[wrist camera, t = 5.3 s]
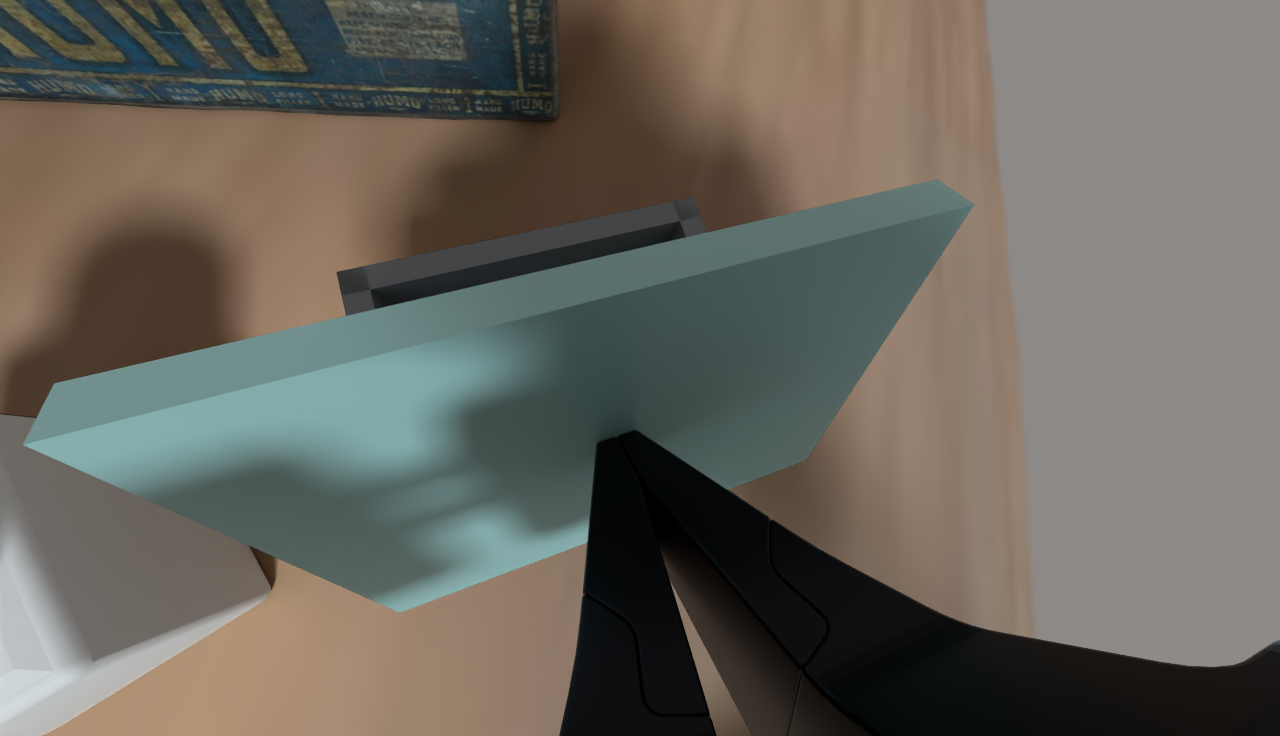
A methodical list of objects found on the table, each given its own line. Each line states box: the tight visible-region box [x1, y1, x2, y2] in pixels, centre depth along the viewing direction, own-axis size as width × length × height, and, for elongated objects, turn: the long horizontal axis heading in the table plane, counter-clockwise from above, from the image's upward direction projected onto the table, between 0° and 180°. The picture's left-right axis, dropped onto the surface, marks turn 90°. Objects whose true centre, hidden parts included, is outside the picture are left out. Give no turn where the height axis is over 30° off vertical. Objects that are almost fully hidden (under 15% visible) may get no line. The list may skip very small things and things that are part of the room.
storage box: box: [337, 197, 706, 316], centre depth 17 cm, size 9×12×6 cm
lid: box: [23, 179, 974, 612], centre depth 10 cm, size 9×12×1 cm
